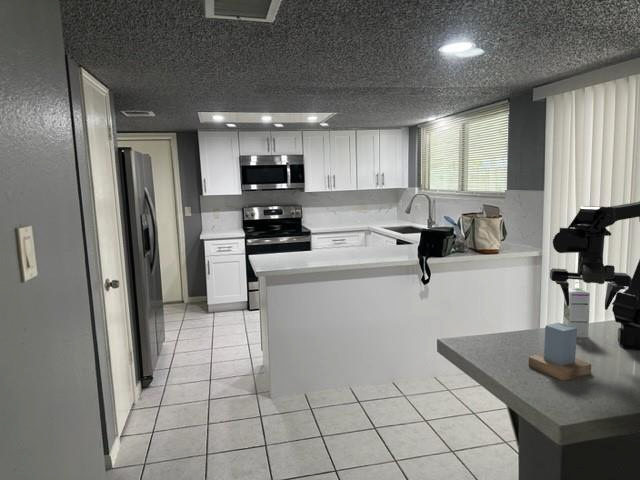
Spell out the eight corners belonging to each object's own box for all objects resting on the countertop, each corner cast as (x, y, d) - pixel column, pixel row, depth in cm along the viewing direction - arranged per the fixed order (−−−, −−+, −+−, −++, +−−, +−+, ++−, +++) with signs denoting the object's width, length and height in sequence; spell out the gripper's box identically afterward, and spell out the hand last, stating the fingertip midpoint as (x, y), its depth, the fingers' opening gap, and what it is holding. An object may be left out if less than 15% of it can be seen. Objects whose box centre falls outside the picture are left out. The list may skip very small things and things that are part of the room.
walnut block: (555, 361, 119) (556, 350, 119) (590, 375, 110) (591, 364, 109) (528, 367, 115) (528, 356, 115) (562, 383, 106) (562, 371, 106)
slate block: (556, 355, 115) (558, 322, 114) (574, 362, 110) (577, 328, 109) (543, 359, 113) (545, 325, 112) (561, 366, 108) (563, 331, 107)
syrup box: (589, 338, 134) (591, 292, 133) (568, 337, 136) (570, 291, 134) (581, 332, 140) (584, 287, 138) (561, 331, 141) (563, 287, 139)
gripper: (556, 253, 116) (552, 311, 117) (640, 258, 109) (634, 319, 110) (551, 248, 126) (547, 301, 128) (628, 252, 119) (623, 308, 121)
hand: (586, 307), depth 121 cm, fingers open, 9 cm apart
